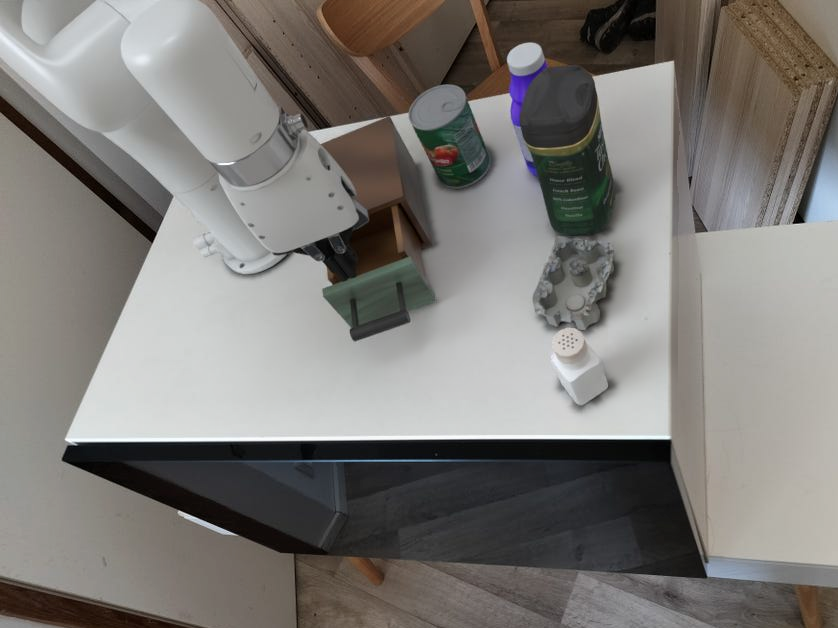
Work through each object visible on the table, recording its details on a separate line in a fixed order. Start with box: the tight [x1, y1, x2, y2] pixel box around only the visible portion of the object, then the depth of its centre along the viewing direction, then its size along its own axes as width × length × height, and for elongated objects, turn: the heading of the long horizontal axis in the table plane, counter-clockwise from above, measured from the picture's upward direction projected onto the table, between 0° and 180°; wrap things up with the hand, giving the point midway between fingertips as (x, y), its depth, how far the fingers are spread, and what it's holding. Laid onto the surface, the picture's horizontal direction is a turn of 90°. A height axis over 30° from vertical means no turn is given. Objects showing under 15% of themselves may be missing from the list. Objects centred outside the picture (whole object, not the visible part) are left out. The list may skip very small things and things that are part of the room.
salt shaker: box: [550, 327, 609, 406], centre depth 69 cm, size 4×4×10 cm
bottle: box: [506, 42, 549, 177], centre depth 83 cm, size 7×6×17 cm
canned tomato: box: [407, 84, 492, 190], centre depth 91 cm, size 8×8×11 cm
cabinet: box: [320, 115, 433, 250], centre depth 91 cm, size 16×13×10 cm
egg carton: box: [532, 235, 615, 331], centre depth 77 cm, size 11×8×4 cm
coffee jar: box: [519, 64, 616, 237], centre depth 77 cm, size 10×8×19 cm
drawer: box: [321, 203, 437, 342], centre depth 84 cm, size 20×11×8 cm, turn 11°
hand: (348, 269), depth 74 cm, fingers closed
